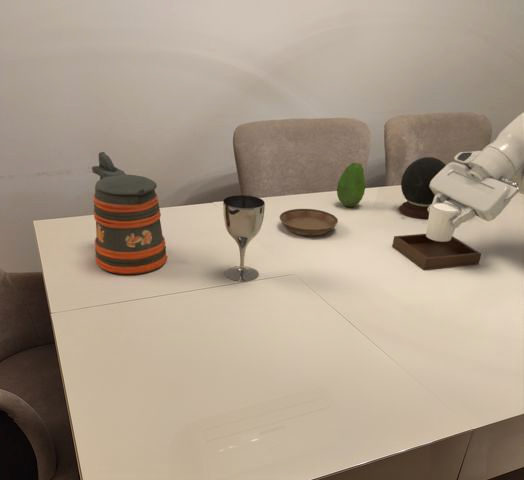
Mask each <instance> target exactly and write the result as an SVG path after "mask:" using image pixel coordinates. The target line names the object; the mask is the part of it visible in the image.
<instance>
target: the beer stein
mask: <svg viewBox="0 0 524 480" xmlns="http://www.w3.org/2000/svg"><path fill="white" fill-rule="evenodd" d="M91 170H92V171H91V172H92V173H93V174H96V175H97V176H99V180H97V181H96V183H95V186H94V194H93V196H92V198H93V218H94V220H95V233H96V237H95V238H94V248H95V249H94V250H95V251H94V252H95V263H96V265H97V266H98V267H100V268H101V269H102V270H103V271H106V272H109V273H111V274H117V275H140V274H147V273H150V272H153V271H155V270H157V269H159V268H161V267H163V266H164V265H165V264H166V261H167V260H168V255H167V246H166V240H165V237H164V235H163V229H162V222H161V216H162V215H161V208H160V204H159V198H158V194H157V193H156V189H157V186H158V185H157V183H156V182H155V180H152V179H150V178H149V177H146V176H141V175H137V174H128V173H125V171H124V170H122V169H119V168H118V167H116V166H115V165H114V163H113V161H112V159H111V157H110V156H109V155H108V154H106V152H104V151H100V152H99V153H98V165H94V166H92V167H91Z"/></svg>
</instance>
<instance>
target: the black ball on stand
mask: <svg viewBox="0 0 524 480" xmlns="http://www.w3.org/2000/svg"><path fill="white" fill-rule="evenodd" d="M446 165H447V164H446V163H445V162H443V161H442V160H441V159H439V158H437V157H433V156H426V157H425V156H424V157H421V158H418V159H416V160H414V161H412V163H410V164H409V165H408V166H407V168H405V170H404V172H403V173H402V176H401V181H400V182H401V183H400V189H401V192H402V195H403V197H404V198H405V200H406V201H405V202H402V203H401V205H400V206H399V208H398V211H399V213H400V214H402V215H403V216H405V217H409V218H413V219H419V220H428V218H429V212H428V210H427V209H428V207H429V206H430V205H431V204H432V202H433V200H434V197H435V195H434V193H433V192H432V190H431V189H430V187H429V185H430V182H431V180H432V179H433V178H434V177H435V176H436V175H437V174H438V173H439V172H440V171H441V170H442V169H443V168H444V167H445V166H446Z"/></svg>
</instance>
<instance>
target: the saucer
mask: <svg viewBox="0 0 524 480" xmlns="http://www.w3.org/2000/svg"><path fill="white" fill-rule="evenodd" d="M279 220H280V222H281V224H282V225H283V227H285V228H286V229H287V230H288V231H290V232H292V233H294V234H297V235H301V236H309V237H311V236H312V237H313V236H314V237H315V236H321V235H325V234H327V233H328V232H331V230H333V229H334V228H335V227H336V225H338V223H339V218H337V217H336V216H335V215H334V214H332V213H330V212H327V211H324V210H320V209H314V208H294V209H289V210H286V211H283V212H282V213H281V214H280V215H279Z"/></svg>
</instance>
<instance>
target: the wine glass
mask: <svg viewBox="0 0 524 480" xmlns="http://www.w3.org/2000/svg"><path fill="white" fill-rule="evenodd" d="M265 206H266V202H265V201H264V200H263V199H262V198H260V197H257V196H254V195H253V196H252V195H242V194H241V195H238V194H237V195H231V196H228V197H225V198H224V199H223V201H222V213H223V223H224V226H225V229H226V231H227V232H228V235H230V237H231V238H232V239H233V240H234V241H235V243H236V244H237V246H238V249H239V258H240V259H239V265H234V266H231V267H228V268H226V269H225V271H224V276H225V277H226V278H228V279H230V280H233V281H236V282H248V281H253V280H256V279H257V278H258V277H259V276H260V273H259V271H258V270H257V269H255V268H254V267H250V266H246V265H245V256H246V250H247V247H248V245H249V244H250V242H251V241H253V239H255V237H257V235H258V234H259V233H260V231H261V229H262V225H263V222H264V217H265V210H266V209H265Z"/></svg>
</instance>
